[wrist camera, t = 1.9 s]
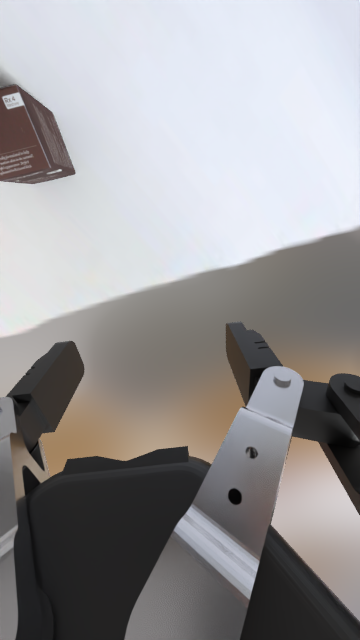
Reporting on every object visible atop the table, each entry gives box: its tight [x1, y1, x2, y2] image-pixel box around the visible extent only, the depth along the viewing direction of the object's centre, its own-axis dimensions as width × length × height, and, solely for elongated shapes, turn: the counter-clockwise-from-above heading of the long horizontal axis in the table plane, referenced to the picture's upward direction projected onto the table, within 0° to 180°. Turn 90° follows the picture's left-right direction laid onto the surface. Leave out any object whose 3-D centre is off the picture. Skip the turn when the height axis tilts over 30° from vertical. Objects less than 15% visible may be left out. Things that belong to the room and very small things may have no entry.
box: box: [0, 84, 75, 184], centre depth 23 cm, size 6×6×7 cm
